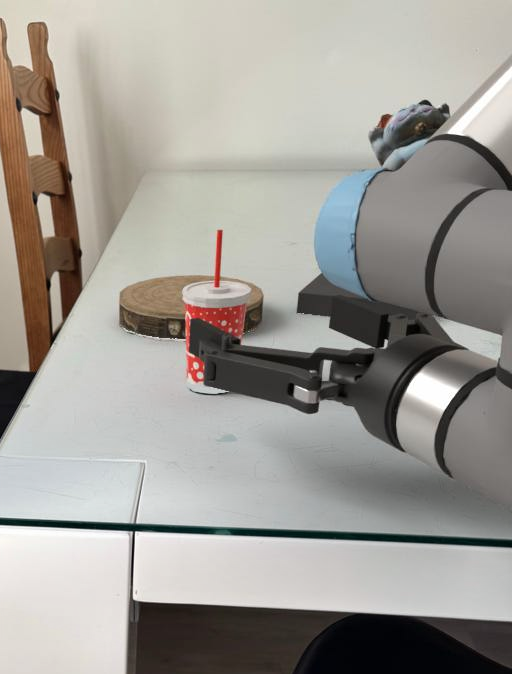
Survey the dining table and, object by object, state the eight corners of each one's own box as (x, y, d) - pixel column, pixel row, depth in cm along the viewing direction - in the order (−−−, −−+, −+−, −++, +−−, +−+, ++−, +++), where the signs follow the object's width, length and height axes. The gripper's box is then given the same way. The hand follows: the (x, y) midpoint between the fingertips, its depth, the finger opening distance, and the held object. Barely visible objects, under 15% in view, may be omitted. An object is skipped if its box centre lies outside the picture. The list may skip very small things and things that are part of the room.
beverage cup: (191, 372, 98) (197, 221, 91) (252, 379, 96) (264, 224, 88) (169, 393, 94) (174, 235, 86) (232, 401, 91) (243, 239, 84)
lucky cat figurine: (381, 185, 172) (365, 102, 171) (378, 202, 184) (363, 124, 182) (473, 155, 168) (458, 70, 166) (464, 175, 179) (450, 95, 178)
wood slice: (130, 299, 121) (130, 274, 119) (264, 302, 117) (267, 276, 115) (107, 340, 108) (107, 312, 106) (257, 344, 104) (259, 315, 103)
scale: (441, 297, 116) (447, 261, 113) (419, 326, 107) (426, 288, 105) (325, 287, 121) (329, 253, 119) (296, 314, 113) (299, 277, 111)
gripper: (271, 490, 66) (130, 390, 82) (568, 424, 73) (383, 344, 89) (282, 379, 61) (131, 297, 78) (596, 320, 68) (396, 257, 85)
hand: (265, 322), depth 84 cm, fingers open, 13 cm apart
